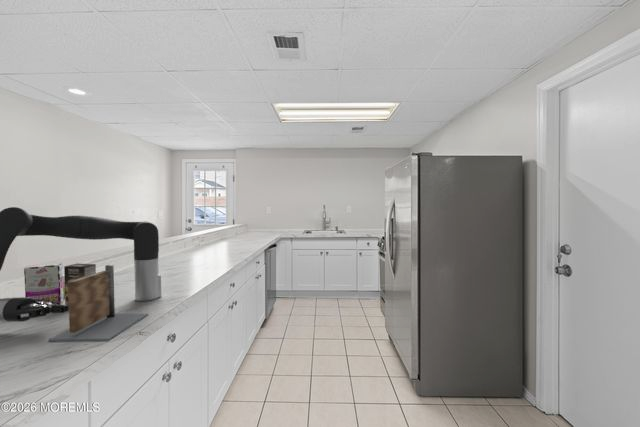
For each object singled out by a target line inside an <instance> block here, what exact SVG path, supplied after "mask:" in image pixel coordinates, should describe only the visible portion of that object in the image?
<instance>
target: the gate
mask: <svg viewBox="0 0 640 427" xmlns="http://www.w3.org/2000/svg"><path fill="white" fill-rule="evenodd" d="M109 275H110V274H109V271H105V270H102V271H98V272H96V273H95V274H92V275H89V276H85V277H82V278H79V279H76V280H72V281H69V282H67V287H68V297H69V305H68V322H69V323H68V324H69V326H68V327H69V328H68V329H70V333H75V332H77V331H79V330H81V329H83V328H85V327H87V326H89V325H91V324H92V323H94V322H96V321H98V320H100V319H102V318H104V317H106V316H108V315H110V307H109Z"/></svg>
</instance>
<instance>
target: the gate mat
mask: <svg viewBox="0 0 640 427" xmlns="http://www.w3.org/2000/svg"><path fill="white" fill-rule="evenodd" d="M148 316H149V313H115V316H114V317H111V318H107V316H106V317H104V318H102V319H100V320H98V321H96V322H94V323H92V324H91V325H89V326H87V327H85V328H83V329H81V330H79V331H77V332H75V333H70V328H68V329H66V330H65V331H63V332H60V333H58V334H56V335H54V336H53V337H50V338H48V339H47V340H48V342H88V341H89V342H95V341H96V340H109V341H111V340H112V339H114V338H115V336H116V335H117V336H118V334H119V335H120V334H122V333H124V330H125V331H126V330H128V329H129V328H131V327H132V326H134V325H136V324H137V323H139V322H140V321H141V320H143V319H144V318H146V317H148ZM121 332H122V333H121ZM117 336H116V337H117ZM113 337H114V338H113ZM110 339H111V340H110ZM94 340H95V341H94ZM96 342H97V341H96Z"/></svg>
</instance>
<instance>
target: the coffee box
mask: <svg viewBox="0 0 640 427" xmlns="http://www.w3.org/2000/svg"><path fill="white" fill-rule="evenodd" d="M96 267H97V266H96V263H73V264H68V265H66V266H64V267H63V269H64V270H63V271H64V272H63V273H64V274H63V275H64V277H65V298H64V305H68V306H69V297H68V287H67V282H69V281H72V280H76V279H79V278H82V277H85V276H89V275H92V274H95V273H97V271H96V270H97V268H96Z"/></svg>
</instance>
